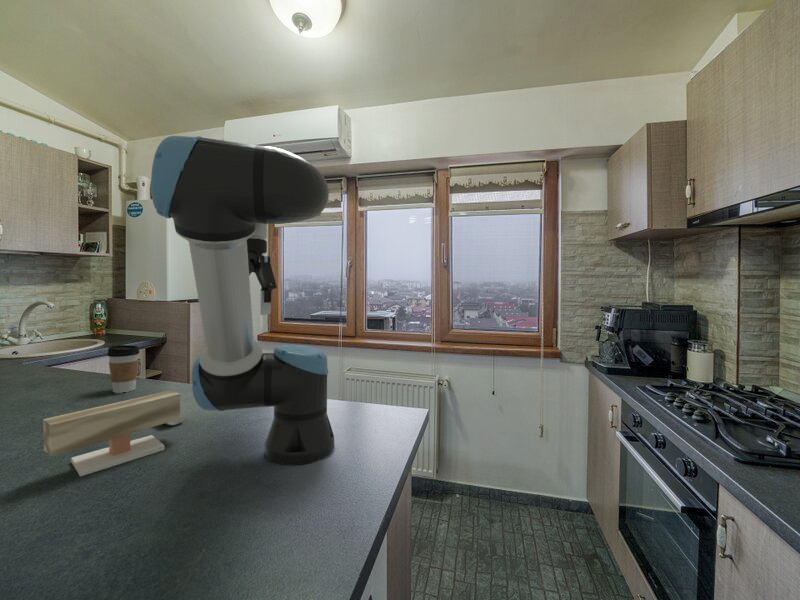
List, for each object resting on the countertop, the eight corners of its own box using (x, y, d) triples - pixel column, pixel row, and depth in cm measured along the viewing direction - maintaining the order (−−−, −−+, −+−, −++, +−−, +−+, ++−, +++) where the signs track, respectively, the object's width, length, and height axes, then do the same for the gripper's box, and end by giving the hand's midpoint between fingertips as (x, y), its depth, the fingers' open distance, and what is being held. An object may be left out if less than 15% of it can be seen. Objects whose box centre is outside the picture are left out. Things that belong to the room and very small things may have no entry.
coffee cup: (115, 387, 119) (114, 344, 118) (144, 386, 121) (143, 343, 121) (102, 395, 111) (101, 349, 110) (133, 393, 113) (133, 348, 113)
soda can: (169, 403, 88) (151, 394, 95) (160, 424, 87) (142, 413, 94) (189, 406, 92) (170, 397, 99) (181, 426, 91) (162, 416, 98)
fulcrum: (164, 449, 77) (164, 427, 77) (80, 476, 66) (79, 450, 66) (152, 439, 82) (151, 418, 82) (71, 462, 71) (71, 438, 71)
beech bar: (180, 418, 82) (179, 393, 82) (51, 457, 63) (50, 424, 63) (170, 414, 84) (170, 390, 84) (44, 450, 66) (43, 419, 65)
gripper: (290, 237, 94) (289, 315, 96) (243, 242, 110) (243, 309, 111) (264, 234, 89) (264, 316, 90) (219, 239, 104) (219, 310, 105)
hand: (252, 312), depth 100 cm, fingers open, 13 cm apart
